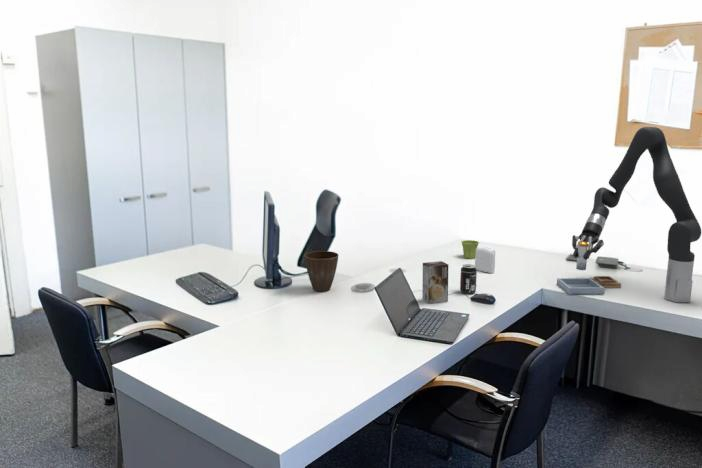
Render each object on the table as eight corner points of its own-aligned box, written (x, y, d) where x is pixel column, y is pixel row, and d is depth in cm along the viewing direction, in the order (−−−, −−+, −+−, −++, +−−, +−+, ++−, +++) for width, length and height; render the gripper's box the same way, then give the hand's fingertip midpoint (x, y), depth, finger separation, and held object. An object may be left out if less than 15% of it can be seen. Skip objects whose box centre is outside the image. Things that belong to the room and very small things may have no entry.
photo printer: (473, 269, 286) (474, 245, 284) (478, 268, 289) (479, 244, 286) (490, 274, 278) (491, 249, 276) (495, 272, 281) (497, 248, 278)
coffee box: (441, 297, 244) (442, 260, 241) (448, 301, 238) (449, 264, 235) (421, 299, 241) (422, 262, 238) (427, 304, 235) (428, 266, 232)
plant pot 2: (457, 256, 313) (458, 240, 311) (472, 254, 316) (473, 239, 314) (465, 260, 304) (466, 244, 303) (481, 259, 307) (482, 243, 305)
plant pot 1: (332, 283, 265) (331, 249, 262) (343, 292, 251) (343, 256, 248) (301, 286, 260) (300, 252, 256) (311, 296, 246) (310, 260, 243)
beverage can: (457, 290, 252) (457, 264, 250) (470, 289, 255) (471, 263, 252) (465, 295, 246) (466, 268, 244) (478, 293, 248) (480, 266, 246)
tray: (603, 294, 246) (604, 288, 245) (569, 294, 246) (569, 288, 245) (589, 284, 261) (590, 278, 260) (556, 284, 261) (557, 278, 260)
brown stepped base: (620, 287, 255) (621, 281, 255) (598, 288, 255) (598, 281, 255) (610, 281, 265) (611, 275, 264) (589, 281, 265) (589, 275, 264)
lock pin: (588, 270, 249) (590, 243, 247) (577, 270, 249) (580, 243, 247) (584, 267, 254) (586, 241, 251) (574, 267, 254) (576, 241, 251)
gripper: (576, 219, 257) (562, 250, 251) (608, 223, 247) (594, 255, 242) (580, 229, 262) (566, 259, 256) (612, 233, 252) (598, 265, 246)
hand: (580, 257), depth 249 cm, fingers closed on lock pin, 4 cm apart
